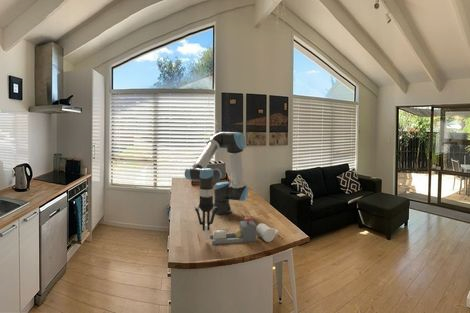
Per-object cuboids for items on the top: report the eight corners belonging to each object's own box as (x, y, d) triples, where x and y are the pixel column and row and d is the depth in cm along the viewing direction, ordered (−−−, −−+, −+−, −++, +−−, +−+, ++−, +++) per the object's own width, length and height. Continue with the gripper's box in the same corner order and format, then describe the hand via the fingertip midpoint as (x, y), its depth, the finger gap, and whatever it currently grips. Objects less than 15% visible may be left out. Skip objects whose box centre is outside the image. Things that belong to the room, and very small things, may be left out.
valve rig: (209, 238, 162) (210, 217, 160) (251, 236, 167) (252, 215, 165) (211, 246, 152) (212, 223, 150) (256, 243, 157) (257, 220, 156)
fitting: (212, 238, 160) (212, 229, 159) (224, 237, 161) (224, 228, 160) (214, 242, 154) (214, 233, 154) (226, 241, 156) (226, 232, 155)
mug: (263, 243, 158) (263, 229, 157) (255, 236, 167) (255, 224, 166) (280, 239, 163) (281, 227, 162) (272, 233, 172) (272, 221, 171)
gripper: (195, 197, 148) (194, 239, 151) (218, 197, 151) (218, 237, 153) (194, 194, 155) (194, 233, 158) (216, 193, 158) (216, 232, 161)
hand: (205, 235), depth 156 cm, fingers closed
